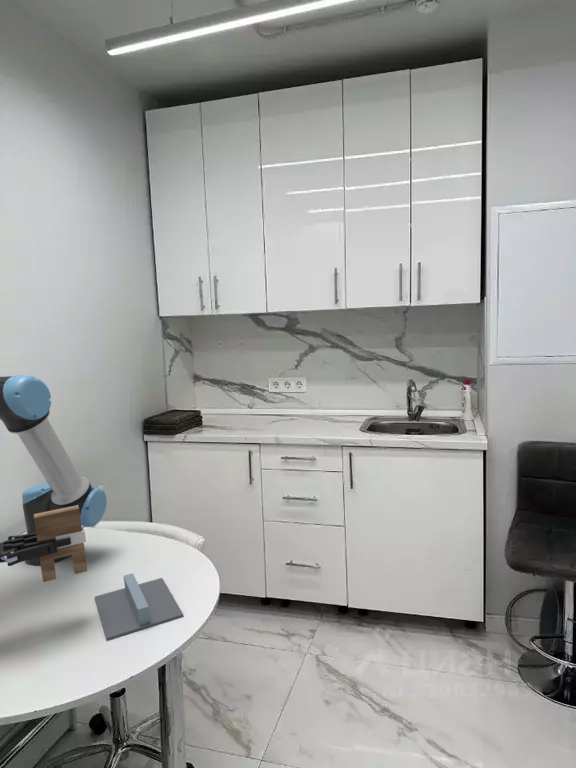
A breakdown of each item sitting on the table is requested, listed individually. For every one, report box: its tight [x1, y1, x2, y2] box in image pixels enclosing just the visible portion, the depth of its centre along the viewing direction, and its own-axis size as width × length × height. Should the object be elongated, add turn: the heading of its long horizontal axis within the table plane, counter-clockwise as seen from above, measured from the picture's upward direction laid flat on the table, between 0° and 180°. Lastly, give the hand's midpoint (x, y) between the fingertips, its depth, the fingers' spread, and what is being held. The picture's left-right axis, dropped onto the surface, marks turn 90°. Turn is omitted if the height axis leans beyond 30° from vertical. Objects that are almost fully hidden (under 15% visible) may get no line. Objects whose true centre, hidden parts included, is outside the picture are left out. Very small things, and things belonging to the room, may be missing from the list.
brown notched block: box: [34, 505, 88, 583], centre depth 133 cm, size 3×10×16 cm, turn 116°
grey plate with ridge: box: [94, 573, 184, 641], centre depth 138 cm, size 22×18×5 cm
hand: (84, 533), depth 135 cm, fingers closed on brown notched block, 3 cm apart
